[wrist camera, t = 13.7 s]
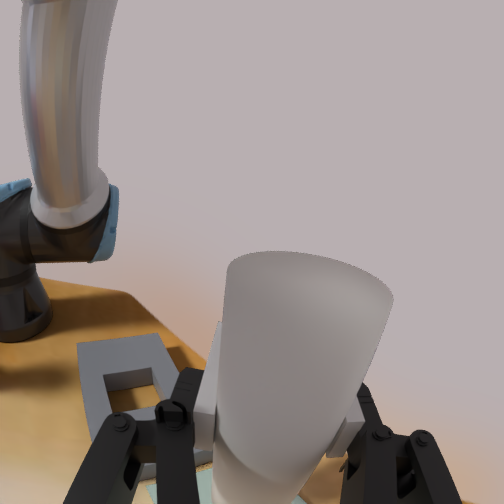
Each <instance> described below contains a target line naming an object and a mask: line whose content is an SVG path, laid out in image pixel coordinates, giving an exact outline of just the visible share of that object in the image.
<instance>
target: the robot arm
mask: <svg viewBox="0 0 504 504" xmlns="http://www.w3.org/2000/svg"><path fill="white" fill-rule="evenodd" d="M21 1H22V3H23V7H22V16H21V27H20V47H19V48H20V49H19V51H20V52H19V71H20V90H21V103H22V113H23V121H24V128H25V135H26V140H27V147H28V152H29V157H30V161H31V167H32V171H33V175H34V179H35V184H34V187H33V188H31V186H32V183H31V181H30V179H29V178H27V179H21V180H18V181H13V182H9V183H6V184H2V185H0V341H1V342H17V341H21V340H25V339H28V338H30V337H33V336H35V335H36V334H38V333H40V332H41V331H42V330H44V329H45V328H46V327H47V326H48V324H49V323H50V321H51V319H52V316H53V311H52V307H51V302H50V299H49V297H48V295H47V293H46V291H45V289H44V287H43V285H42V283H41V281H40V279H39V277H38V274H37V272H36V265H35V263H63V262H87V263H93V262H95V261H105V260H107V259H109V258H110V257H111V256H112V254H113V251H114V247H115V240H116V227H117V220H118V206H119V190H118V188H117V187H116V186H114V185H111V184H108V180H107V177H106V175H105V173H104V172H103V171H102V170H101V169H100V168H99V167H98V130H99V112H100V100H101V89H102V80H103V72H104V65H105V58H106V52H107V46H108V41H109V36H110V31H111V26H112V21H113V17H114V13H115V9H116V5H117V1H118V0H21ZM221 331H222V322H218V325H217V328H216V332H215V335H214V339H213V343H212V346H211V350H210V353H209V357H208V360H207V363H206V367H205V370H200V369H194V368H188V367H186V368H185V369H184V370H183V371H181V372H180V373H179V376H178V378H177V382H176V384H175V386H174V389H173V391H172V394H171V397H170V399H165V400H163V401H160V402H159V403H158V404H157V405H156V407H155V410H154V411H155V417H156V419H153V420H135V419H134V418H133V417H132V416H131V415H129V414H127V413H124V412H115V413H112V414H110V415H108V416H107V418H106V419H105V420H104V422H103V424H102V426H101V428H100V430H99V431H98V433H97V435H96V437H95V439H94V441H93V443H92V445H91V447H90V449H89V451H88V453H87V455H86V457H85V459H84V461H83V463H82V465H81V467H80V469H79V471H78V473H77V475H76V477H75V479H74V481H73V483H72V485H71V487H70V489H69V491H68V494H67V496H66V498H65V500H64V502H63V504H132V501H133V498H134V495H135V492H136V489H137V486H138V483H139V480H140V477H141V474H142V471H143V468H144V465H145V463H156V488H157V504H200V499H199V492H198V485H197V477H196V469H195V460H194V450H193V448H195V449H200V450H206V451H212V450H213V445H214V436H215V420H216V404H217V383H218V369H219V356H220V343H221ZM346 451H347V453H348V459H347V460H346V461H345V463H344V464H343V465H342V467H341V468H340V471H339V472H342V471H343V469H344V476H343V484H342V492H341V499H340V504H462V502H461V499H460V496H459V494H458V491H457V489H456V487H455V484H454V482H453V480H452V477H451V474H450V472H449V470H448V468H447V466H446V463H445V461H444V458H443V456H442V454H441V452H440V450H439V448H438V446H437V443H436V441H435V439H434V437H433V436H432V434H430V433H429V432H428V431H425V430H416V431H414V432H413V433H412V434H411V435H410V436H404V435H397V434H393V431H392V430H391V429H390V428H389V427H387V426H386V425H383V424H382V421H381V419H380V416H379V413H378V411H377V408H376V406H375V403H374V401H373V399H372V397H371V393H370V391H369V389H368V387H367V386H366V385H365V384H364V383H363V382H362V384H361V386H360V388H359V390H358V392H357V395H356V397H355V399H354V401H353V403H352V405H351V407H350V409H349V411H348V413H347V415H346V417H345V418H344V420H343V422H342V424H341V426H340V428H339V430H338V431H337V433H336V435H335V437H334V438H333V440H332V442H331V444H330V445H329V447H328V449H327V450H326V458H332V457H343V455H344V454H345V452H346Z"/></svg>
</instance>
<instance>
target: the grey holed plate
mask: <svg viewBox="0 0 504 504" xmlns="http://www.w3.org/2000/svg"><path fill="white" fill-rule="evenodd" d="M77 354H78V364H79V373H80V381H81V388H82V395H83V401H84V407H85V413H86V418H87V423H88V427H89V432H90V436H91V441H92V443H93V441H94V439H95V437H96V435H97V433H98V431H99V430H100V428H101V426H102V424H103V422H104V420H105V419H106V418H107V416H108V415H110V414H112V413H113V412H112V408H111V404H110V401H109V397H108V393H107V392H109V391H116V390H122V389H129V388H134V387H140V386H146V385H151V384H154V387H155V389H156V391H157V393H158V395H159V398H160V400H161V401H163V400H165V399H170V397H171V394H172V391H173V389H174V386H175V384H176V382H177V378H178V376H179V372H178V370H177V368H176V366H175V365H174V363H173V361H172V359H171V357H170V355H169V353H168V352H167V350H166V348H165V346H164V344H163V342H162V340H161V338H160V336H159V334H158V333H153V334H147V335H140V336H133V337H125V338H118V339H110V340H101V341H93V342H83V343H77ZM155 407H156V406H152V407H147V408H142V409H137V410H131V411H126V412H124V413H127V414H129V415H131V416H132V417H133V418H134V419H135V420H153V419H156V417H155V411H154V410H155ZM213 446H214V445H213ZM193 450H194V460H195V467H196V466H199V465H202V464H205V463H208V462H211V461H213V450H212V451H206V450H200V449H195V448H193ZM155 477H156V463H145V465H144V468H143V471H142V474H141V477H140V480H139V481H141V480H146V479H151V478H155Z"/></svg>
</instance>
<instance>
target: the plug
mask: <svg viewBox="0 0 504 504" xmlns="http://www.w3.org/2000/svg"><path fill="white" fill-rule="evenodd" d="M392 305H393V295H392V293H391V291H390V290H389V288H388V287H387V286H386V285H385V284H384V283H383V282H382V281H380V280H379V279H377V278H376V277H374V276H373V275H371V274H370V273H368V272H366V271H363V270H362V269H359V268H357V267H355V266H352V265H350V264H347V263H344V262H341V261H338V260H334V259H330V258H326V257H321V256H317V255H312V254H304V253H298V252H285V251H269V252H268V251H267V252H256V253H251V254H247V255H243V256H241V257H238V258H236V259H234V260H233V261H232V262H231V263H230V264H229V266H228V269H227V276H226V287H225V298H224V308H223V321H222V331H221V343H220V356H219V369H218V383H217V404H216V420H215V436H214V446H213V465H212V487H211V501H212V504H291V503H292V501H293V500H294V499H295V497H296V496H297V494H298V493H299V492H300V490H301V489H302V487H303V486H304V485H305V483H306V482H307V480H308V479H309V477H310V476H311V474H312V473H313V471H314V470H315V468H316V467H317V465H318V463H319V462H320V460H321V459H322V457H323V455H324V454H325V452H326V450H327V449H328V447H329V445H330V444H331V442H332V440H333V438H334V437H335V435H336V433H337V431H338V430H339V428H340V426H341V424H342V422H343V420H344V418H345V417H346V415H347V413H348V411H349V409H350V407H351V405H352V403H353V401H354V399H355V397H356V395H357V392H358V390H359V388H360V386H361V384H362V382H363V380H364V377H365V375H366V373H367V371H368V368H369V366H370V364H371V361H372V359H373V356H374V354H375V351H376V349H377V346H378V344H379V341H380V339H381V336H382V333H383V331H384V328H385V325H386V322H387V320H388V317H389V314H390V311H391V308H392Z"/></svg>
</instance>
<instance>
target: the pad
mask: <svg viewBox="0 0 504 504" xmlns="http://www.w3.org/2000/svg"><path fill="white" fill-rule="evenodd" d="M196 477H197V485H198V492H199V499H200V504H212V501H211V487H212V468H210V469H207V470H204V471H200V472H197V473H196ZM146 488H147V490H148V492H149V494H150V496H151V498H152V500H153V502H154V504H157V488H156V484H153V485H148V486H146ZM291 504H307V503H306V502H305V501H304V500H303V499H302V498H301V497H300V496H299V495H298V494H297V496H296V497H295V499H294V500H293V501H292V503H291Z"/></svg>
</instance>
